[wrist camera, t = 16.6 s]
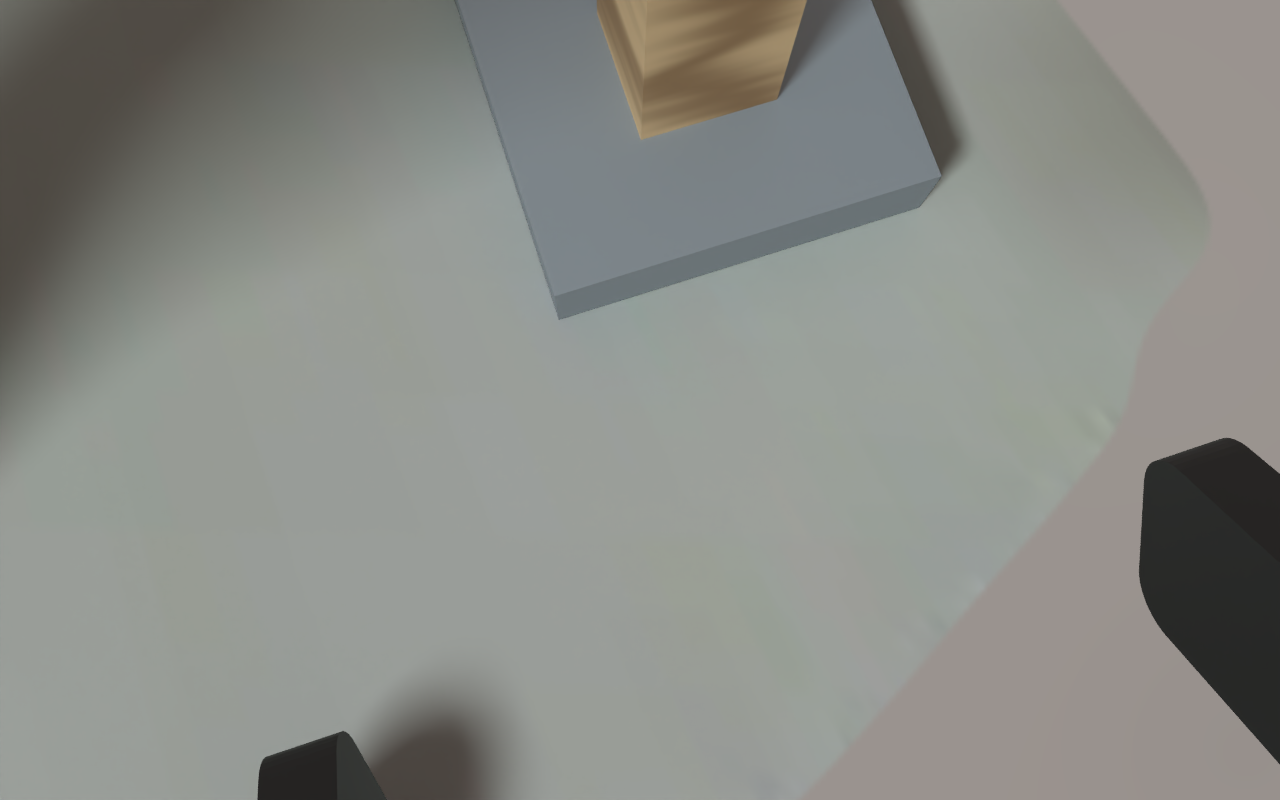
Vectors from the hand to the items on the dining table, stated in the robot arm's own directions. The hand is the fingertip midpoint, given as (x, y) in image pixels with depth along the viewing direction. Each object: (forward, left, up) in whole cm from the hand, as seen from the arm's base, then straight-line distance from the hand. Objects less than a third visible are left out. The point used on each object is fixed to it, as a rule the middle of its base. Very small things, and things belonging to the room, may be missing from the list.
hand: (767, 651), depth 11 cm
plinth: (+7, +19, -29) cm, 35 cm away
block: (+7, +19, -26) cm, 32 cm away
